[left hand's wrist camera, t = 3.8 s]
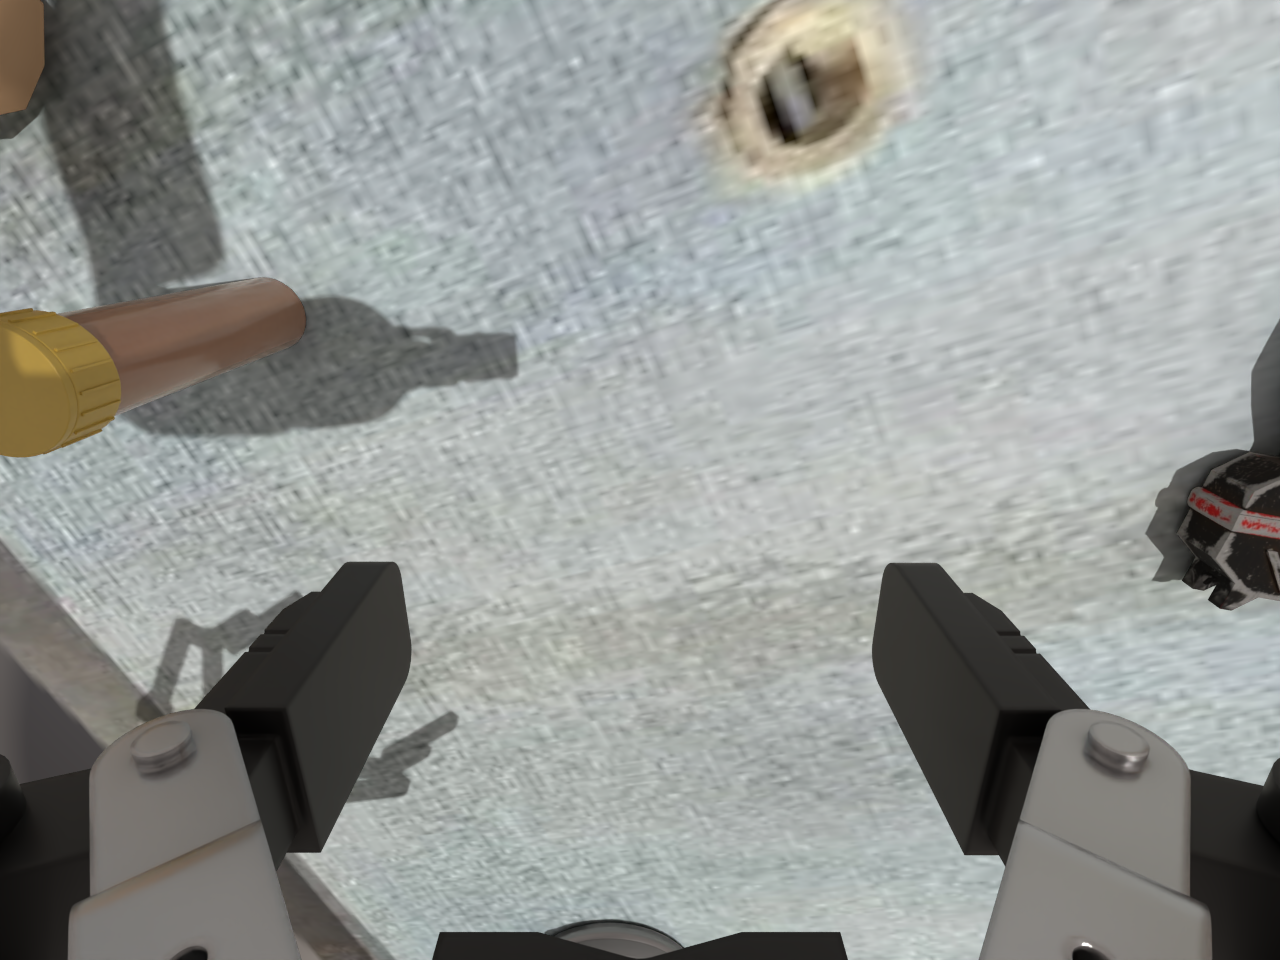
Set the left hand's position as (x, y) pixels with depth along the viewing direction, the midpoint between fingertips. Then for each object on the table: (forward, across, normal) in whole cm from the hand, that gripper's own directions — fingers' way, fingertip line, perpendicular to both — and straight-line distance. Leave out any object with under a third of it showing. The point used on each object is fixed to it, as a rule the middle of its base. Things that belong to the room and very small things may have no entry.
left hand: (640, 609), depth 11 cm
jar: (+29, +21, -1) cm, 36 cm away
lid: (+12, +21, -1) cm, 24 cm away
